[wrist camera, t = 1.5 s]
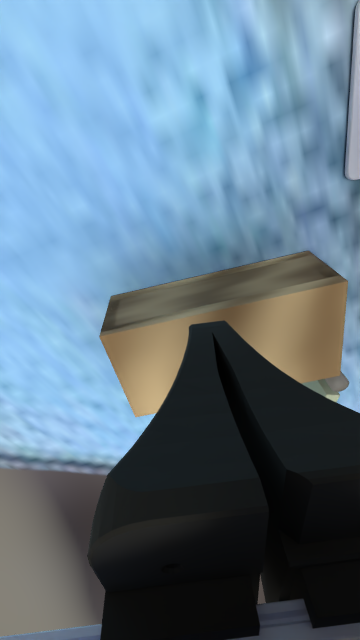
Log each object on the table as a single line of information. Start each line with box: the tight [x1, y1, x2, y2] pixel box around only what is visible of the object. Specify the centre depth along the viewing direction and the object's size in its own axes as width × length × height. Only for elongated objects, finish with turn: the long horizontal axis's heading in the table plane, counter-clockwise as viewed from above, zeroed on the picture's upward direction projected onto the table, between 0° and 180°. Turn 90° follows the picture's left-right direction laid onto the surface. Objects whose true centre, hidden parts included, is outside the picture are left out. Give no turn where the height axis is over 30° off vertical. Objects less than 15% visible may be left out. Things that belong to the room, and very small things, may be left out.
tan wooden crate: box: [99, 251, 348, 417], centre depth 21 cm, size 14×7×5 cm, turn 103°
